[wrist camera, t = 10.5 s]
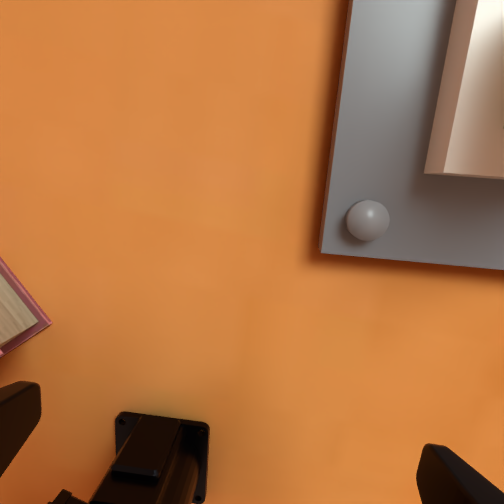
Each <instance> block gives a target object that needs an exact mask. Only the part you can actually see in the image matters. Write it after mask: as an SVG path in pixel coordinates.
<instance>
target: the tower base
mask: <svg viewBox="0 0 504 504" xmlns="http://www.w3.org/2000/svg"><path fill="white" fill-rule="evenodd" d="M503 126H504V0H349V3H348V11H347V19H346V27H345V35H344V43H343V51H342V59H341V67H340V75H339V83H338V91H337V99H336V107H335V115H334V123H333V131H332V139H331V147H330V155H329V163H328V171H327V179H326V187H325V195H324V203H323V211H322V219H321V227H320V235H319V243H318V248H319V250H320V252H321V253H327V254H338V255H348V256H359V257H370V258H380V259H391V260H402V261H413V262H423V263H434V264H445V265H455V266H466V267H477V268H488V269H498V270H504V129H503Z"/></svg>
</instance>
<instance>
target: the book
mask: <svg viewBox="0 0 504 504" xmlns="http://www.w3.org/2000/svg"><path fill="white" fill-rule="evenodd" d="M51 323H52V322H51V320H50V319H49V318H48V317H47V315H46V314H45V313H44V312H43V310H42V309H41V308H40V306H39V305H38V304H37V303H36V301H35V300H34V299H33V298H32V296H31V295H30V294H29V293H28V291H27V290H26V289H25V288H24V286H23V285H22V284H21V282H20V281H19V280H18V279H17V277H16V276H15V275H14V274H13V272H12V271H11V270H10V269H9V267H8V266H7V265H6V263H5V262H4V261H3V260H2V258H1V257H0V358H1V357H2V356H4V355H5V354H7V353H8V352H10V351H11V350H13V349H14V348H16V347H17V346H19V345H20V344H22V343H23V342H25V341H26V340H28V339H29V338H31V337H32V336H34V335H35V334H37V333H38V332H40V331H41V330H42V329H44V328H45V327H47V326H48V325H50V324H51Z"/></svg>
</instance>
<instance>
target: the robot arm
mask: <svg viewBox="0 0 504 504" xmlns="http://www.w3.org/2000/svg"><path fill="white" fill-rule="evenodd" d="M40 417H41V390H40V386H39V384H37V383H34V382H28V381H18V382H15V383H13V384H10V385H7V386H4V387H2V388H0V477H1V476H2V474H3V473H4V471H5V470H6V469H7V467H8V466H9V464H10V463H11V461H12V460H13V459H14V457H15V456H16V454H17V453H18V451H19V450H20V448H21V447H22V446H23V444H24V443H25V441H26V440H27V438H28V437H29V435H30V434H31V433H32V431H33V430H34V428H35V427H36V425H37V424H38V422H39V420H40ZM122 419H124V420H125V421H124V420H122ZM200 430H203V432H202V431H200ZM115 435H116V457H115V459H114V461H113V462H112V464H111V466H110V467H109V469H108V471H107V472H106V474H105V476H104V477H103V479H102V481H101V482H100V484H99V486H98V487H97V489H96V491H95V492H94V494H93V495H92V497H91V499H90V500H89V502H88V503H86V502H84V501H82V500H80V499H78V498H76V497H74V496H72V493H71V492H69V491H67V490H65V489H63V490H62V491H61V492H60V493H59V494H58V496H57V497H56V498H55V499H54V501H53V502H50V501H49V502H48V504H191V503H195V504H202V503H203V502H204V501H205V497H206V490H207V471H208V453H209V435H210V427H209V426H208V424H206V423H204V422H198V421H191V420H183V419H176V418H168V417H161V416H153V415H146V414H138V413H131V412H121V413H120V414H119V415H118V416H117V418H116V420H115ZM416 481H417V486H418V490H419V494H420V497H421V501H422V504H504V493H503V492H502V491H501V490H499V489H498V488H497V487H496V486H494V485H493V484H492V483H491V482H490V481H488V480H487V479H486V478H485V477H483V476H482V475H481V474H480V473H479V472H477V471H476V470H475V469H474V468H472V467H471V466H470V465H469V464H467V463H466V462H465V461H464V460H463V459H461V458H460V457H459V456H458V455H456V454H455V453H454V452H453V451H451V450H450V449H449V448H448V447H446V446H443V445H437V444H430V443H428V444H426V445H425V446H424V447H423V450H422V454H421V458H420V462H419V465H418V469H417V474H416Z"/></svg>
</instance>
